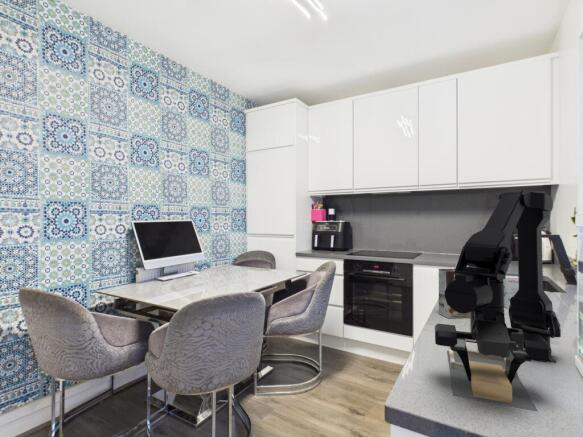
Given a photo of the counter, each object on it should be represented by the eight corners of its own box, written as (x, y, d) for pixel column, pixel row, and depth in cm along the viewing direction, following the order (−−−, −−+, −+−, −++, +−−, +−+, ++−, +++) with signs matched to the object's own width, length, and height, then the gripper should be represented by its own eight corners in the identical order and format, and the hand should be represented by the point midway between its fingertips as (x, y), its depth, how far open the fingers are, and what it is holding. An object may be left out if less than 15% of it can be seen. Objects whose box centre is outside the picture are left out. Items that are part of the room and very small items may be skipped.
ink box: (530, 307, 117) (529, 276, 117) (534, 311, 113) (533, 278, 113) (502, 305, 121) (502, 275, 121) (505, 309, 116) (505, 277, 116)
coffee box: (447, 318, 106) (446, 271, 106) (438, 313, 112) (437, 268, 112) (474, 318, 106) (473, 270, 106) (463, 312, 112) (462, 268, 113)
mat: (446, 352, 79) (446, 350, 79) (508, 361, 74) (508, 358, 74) (453, 398, 59) (453, 395, 59) (538, 414, 53) (538, 411, 53)
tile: (468, 374, 66) (467, 360, 66) (501, 380, 64) (501, 365, 64) (473, 396, 58) (473, 380, 58) (512, 403, 56) (512, 386, 56)
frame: (448, 352, 78) (448, 347, 78) (507, 360, 73) (507, 355, 73) (451, 368, 69) (451, 362, 69) (517, 378, 64) (517, 372, 65)
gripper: (435, 309, 58) (436, 394, 58) (562, 321, 50) (565, 419, 50) (434, 296, 68) (435, 368, 68) (540, 304, 60) (542, 385, 60)
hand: (488, 383), depth 61 cm, fingers closed on tile, 6 cm apart
